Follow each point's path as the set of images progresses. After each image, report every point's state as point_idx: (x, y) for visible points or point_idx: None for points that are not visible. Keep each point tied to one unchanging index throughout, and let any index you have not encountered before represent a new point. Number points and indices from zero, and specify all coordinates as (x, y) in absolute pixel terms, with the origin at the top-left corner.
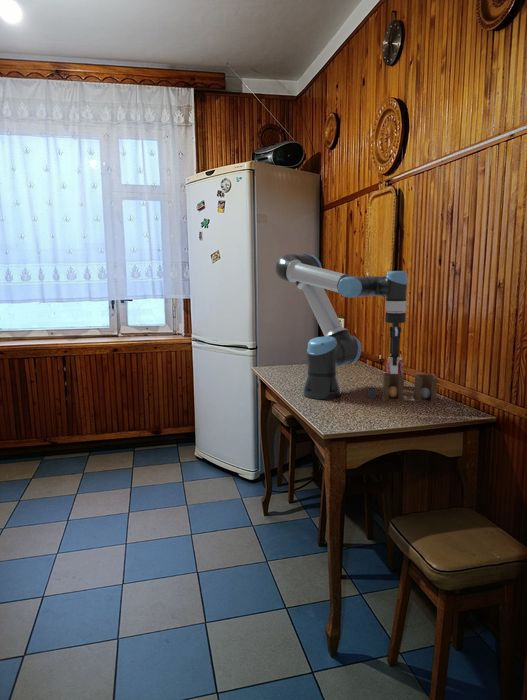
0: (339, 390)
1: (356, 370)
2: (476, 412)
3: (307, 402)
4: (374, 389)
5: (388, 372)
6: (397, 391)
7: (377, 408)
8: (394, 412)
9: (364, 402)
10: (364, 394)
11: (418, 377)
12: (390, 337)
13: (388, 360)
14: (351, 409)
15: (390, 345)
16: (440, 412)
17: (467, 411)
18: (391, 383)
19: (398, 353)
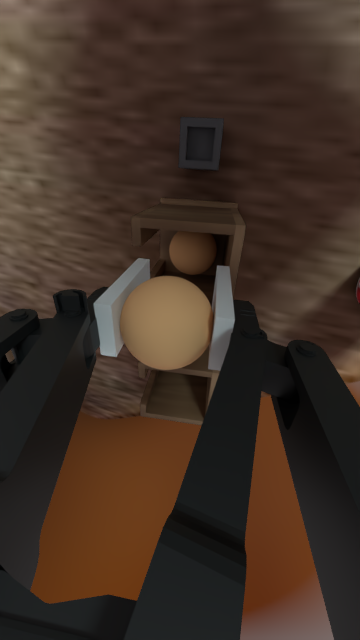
0: None
1: None
2: (110, 406)
3: None
4: (181, 158)
5: None
6: (177, 268)
7: (71, 164)
8: (44, 224)
9: (146, 105)
10: (296, 113)
11: (145, 368)
12: (164, 529)
13: (160, 276)
14: (15, 19)
15: (305, 393)
16: None
17: (113, 395)
18: (226, 257)
19: (11, 369)
